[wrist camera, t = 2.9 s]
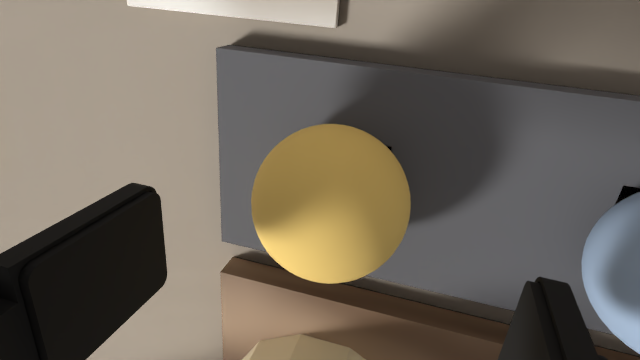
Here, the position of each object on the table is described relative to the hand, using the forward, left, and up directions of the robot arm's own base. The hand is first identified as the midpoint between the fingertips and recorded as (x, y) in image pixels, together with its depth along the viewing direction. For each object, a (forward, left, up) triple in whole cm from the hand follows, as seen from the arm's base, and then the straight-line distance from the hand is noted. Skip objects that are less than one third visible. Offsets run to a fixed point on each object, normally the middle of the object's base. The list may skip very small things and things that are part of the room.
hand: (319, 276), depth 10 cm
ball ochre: (0, -1, -3) cm, 3 cm away
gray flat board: (0, +4, -6) cm, 8 cm away
